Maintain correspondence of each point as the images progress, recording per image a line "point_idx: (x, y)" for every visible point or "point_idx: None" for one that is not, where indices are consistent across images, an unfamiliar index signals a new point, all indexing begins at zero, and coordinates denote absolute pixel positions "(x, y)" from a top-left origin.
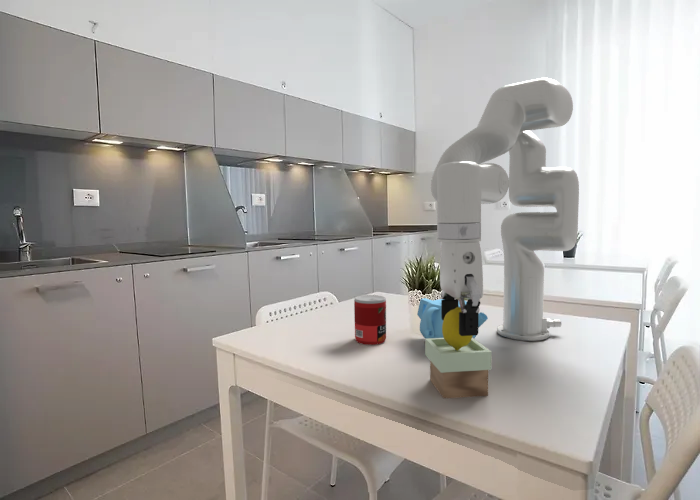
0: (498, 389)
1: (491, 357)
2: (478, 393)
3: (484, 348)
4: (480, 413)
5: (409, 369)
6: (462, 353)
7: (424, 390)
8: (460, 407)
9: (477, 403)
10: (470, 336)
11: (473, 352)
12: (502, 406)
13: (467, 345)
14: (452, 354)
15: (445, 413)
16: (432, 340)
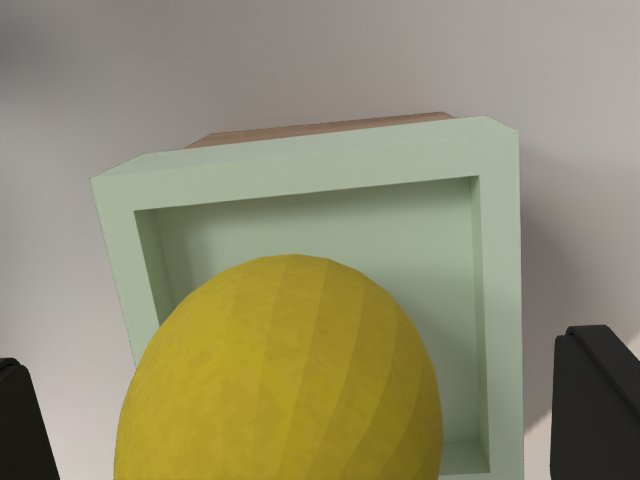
0: (369, 26)
1: (504, 124)
2: None
3: (434, 165)
4: (622, 209)
5: (114, 404)
6: (521, 360)
7: None
8: (550, 278)
9: (521, 191)
10: (398, 306)
11: (517, 280)
12: (571, 79)
13: (191, 213)
14: (522, 424)
15: None
16: None
